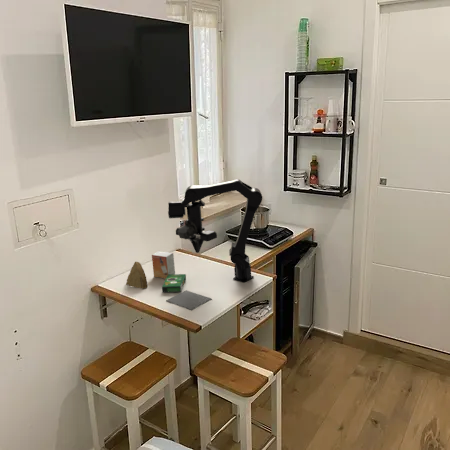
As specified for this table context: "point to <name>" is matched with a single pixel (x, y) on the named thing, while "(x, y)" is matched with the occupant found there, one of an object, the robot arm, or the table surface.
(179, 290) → the coffee box
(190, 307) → the mat
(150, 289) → the table surface
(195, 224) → the robot arm
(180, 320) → the table surface
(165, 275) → the small box
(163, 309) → the table surface
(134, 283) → the rock
